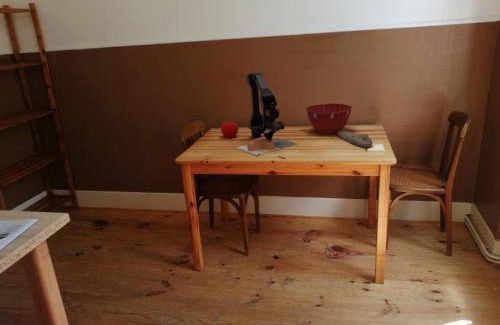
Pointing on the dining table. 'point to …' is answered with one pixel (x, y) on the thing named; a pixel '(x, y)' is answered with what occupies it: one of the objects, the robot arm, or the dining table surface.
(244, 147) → the board
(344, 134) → the grey wooden log
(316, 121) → the mixing bowl
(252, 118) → the robot arm
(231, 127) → the tomato
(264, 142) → the t block
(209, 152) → the dining table surface
